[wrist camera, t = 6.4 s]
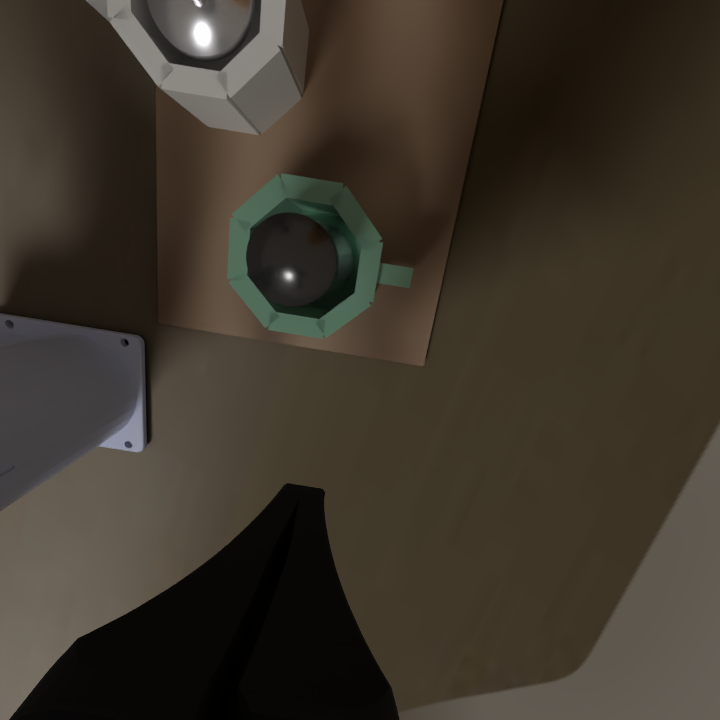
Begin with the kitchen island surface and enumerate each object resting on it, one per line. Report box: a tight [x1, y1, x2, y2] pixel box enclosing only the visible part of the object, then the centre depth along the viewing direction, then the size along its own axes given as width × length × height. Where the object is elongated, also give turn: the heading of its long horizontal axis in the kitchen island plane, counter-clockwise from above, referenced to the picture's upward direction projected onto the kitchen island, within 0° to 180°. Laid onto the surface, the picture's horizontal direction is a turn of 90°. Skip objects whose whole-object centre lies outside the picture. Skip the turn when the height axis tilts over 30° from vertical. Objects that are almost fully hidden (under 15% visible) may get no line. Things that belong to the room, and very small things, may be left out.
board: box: [156, 0, 503, 366], centre depth 18 cm, size 16×19×1 cm
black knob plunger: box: [246, 212, 353, 306], centre depth 16 cm, size 4×4×6 cm
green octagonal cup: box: [227, 173, 414, 339], centre depth 17 cm, size 8×7×4 cm
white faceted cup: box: [86, 0, 309, 135], centre depth 15 cm, size 8×7×4 cm
